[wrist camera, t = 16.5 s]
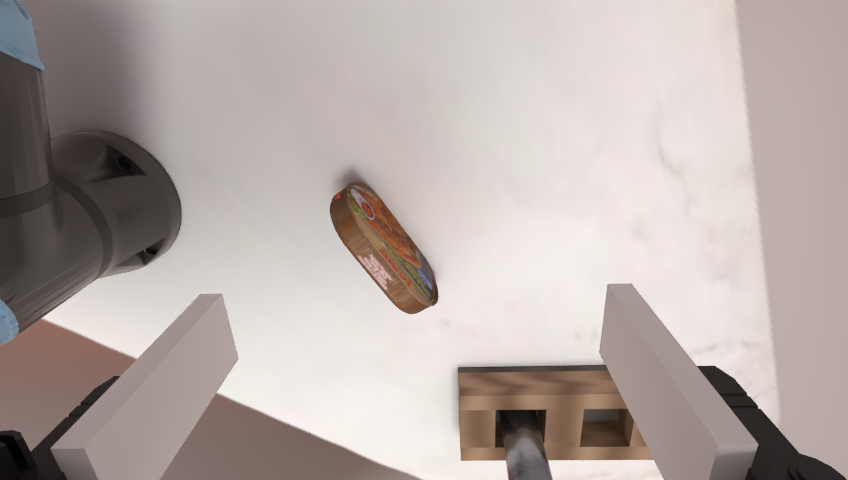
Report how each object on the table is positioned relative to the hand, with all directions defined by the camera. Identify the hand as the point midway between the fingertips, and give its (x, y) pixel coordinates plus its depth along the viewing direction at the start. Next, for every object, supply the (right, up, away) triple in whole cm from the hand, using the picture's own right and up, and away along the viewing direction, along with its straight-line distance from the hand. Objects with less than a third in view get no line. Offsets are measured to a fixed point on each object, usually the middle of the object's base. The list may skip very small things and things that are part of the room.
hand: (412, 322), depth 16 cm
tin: (-3, +4, +35) cm, 35 cm away
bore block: (+17, -17, +42) cm, 49 cm away
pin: (+12, -18, +41) cm, 47 cm away
